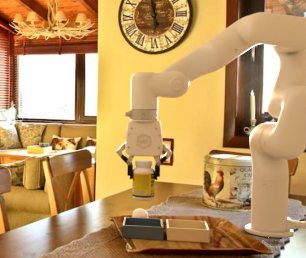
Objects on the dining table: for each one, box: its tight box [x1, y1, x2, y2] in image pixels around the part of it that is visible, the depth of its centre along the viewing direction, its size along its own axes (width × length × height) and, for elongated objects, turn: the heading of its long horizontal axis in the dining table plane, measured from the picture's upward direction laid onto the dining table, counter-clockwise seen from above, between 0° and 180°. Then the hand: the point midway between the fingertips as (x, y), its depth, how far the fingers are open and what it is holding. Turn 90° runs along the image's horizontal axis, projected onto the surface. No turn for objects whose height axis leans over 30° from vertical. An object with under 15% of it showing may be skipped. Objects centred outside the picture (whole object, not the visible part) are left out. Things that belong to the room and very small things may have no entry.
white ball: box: [131, 208, 150, 218], centre depth 158 cm, size 5×5×5 cm
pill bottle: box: [131, 159, 156, 202], centre depth 147 cm, size 6×6×11 cm
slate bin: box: [122, 216, 164, 241], centre depth 147 cm, size 11×10×4 cm
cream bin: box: [165, 218, 211, 244], centre depth 144 cm, size 11×10×4 cm
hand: (143, 178), depth 146 cm, fingers closed on pill bottle, 6 cm apart
